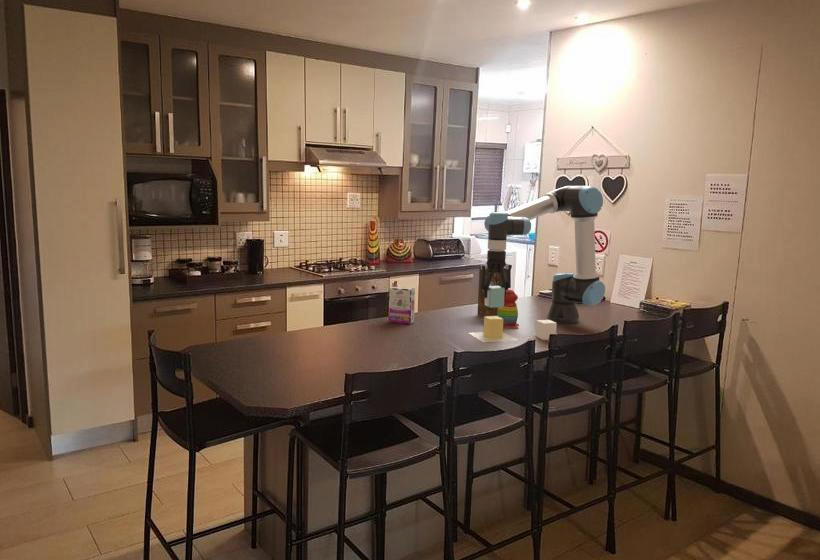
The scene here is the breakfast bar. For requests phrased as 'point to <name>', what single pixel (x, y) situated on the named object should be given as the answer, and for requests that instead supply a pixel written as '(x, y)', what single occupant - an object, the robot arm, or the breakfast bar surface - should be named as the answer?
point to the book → (482, 308)
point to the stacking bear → (509, 310)
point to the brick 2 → (545, 329)
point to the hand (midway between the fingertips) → (494, 305)
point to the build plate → (485, 339)
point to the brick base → (493, 327)
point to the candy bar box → (401, 305)
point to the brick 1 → (496, 296)
